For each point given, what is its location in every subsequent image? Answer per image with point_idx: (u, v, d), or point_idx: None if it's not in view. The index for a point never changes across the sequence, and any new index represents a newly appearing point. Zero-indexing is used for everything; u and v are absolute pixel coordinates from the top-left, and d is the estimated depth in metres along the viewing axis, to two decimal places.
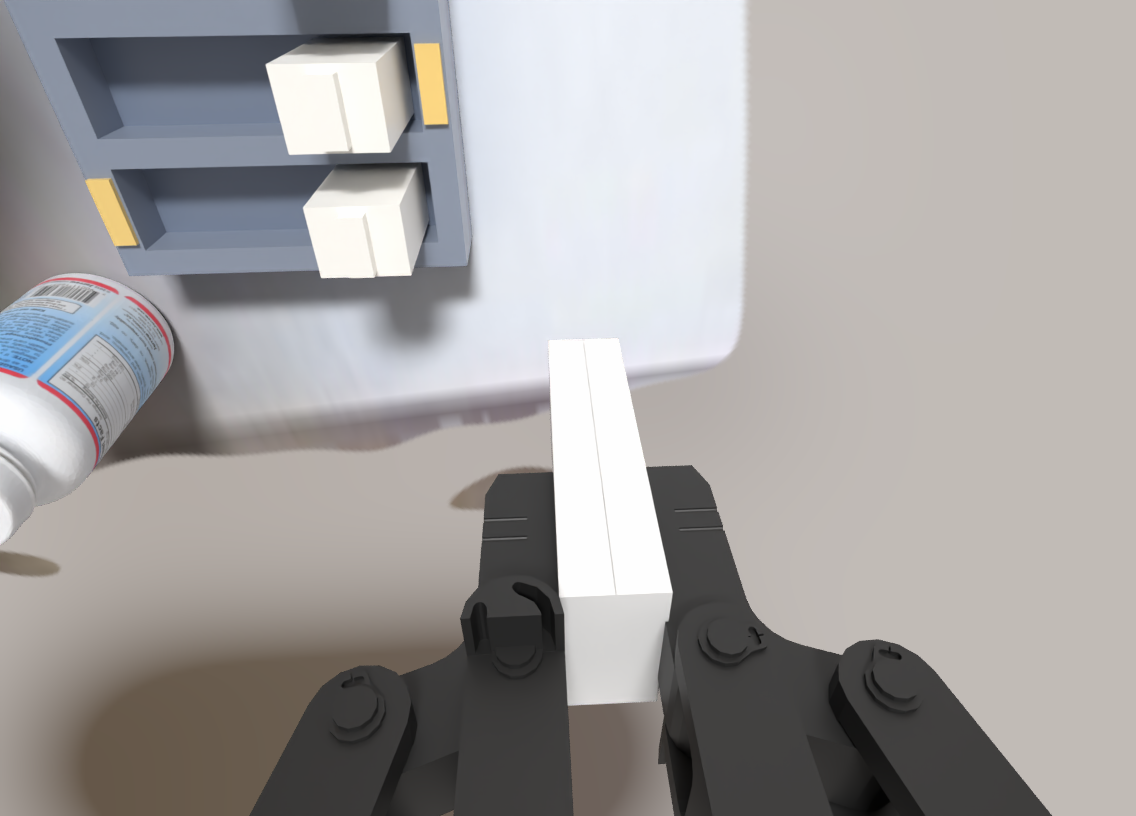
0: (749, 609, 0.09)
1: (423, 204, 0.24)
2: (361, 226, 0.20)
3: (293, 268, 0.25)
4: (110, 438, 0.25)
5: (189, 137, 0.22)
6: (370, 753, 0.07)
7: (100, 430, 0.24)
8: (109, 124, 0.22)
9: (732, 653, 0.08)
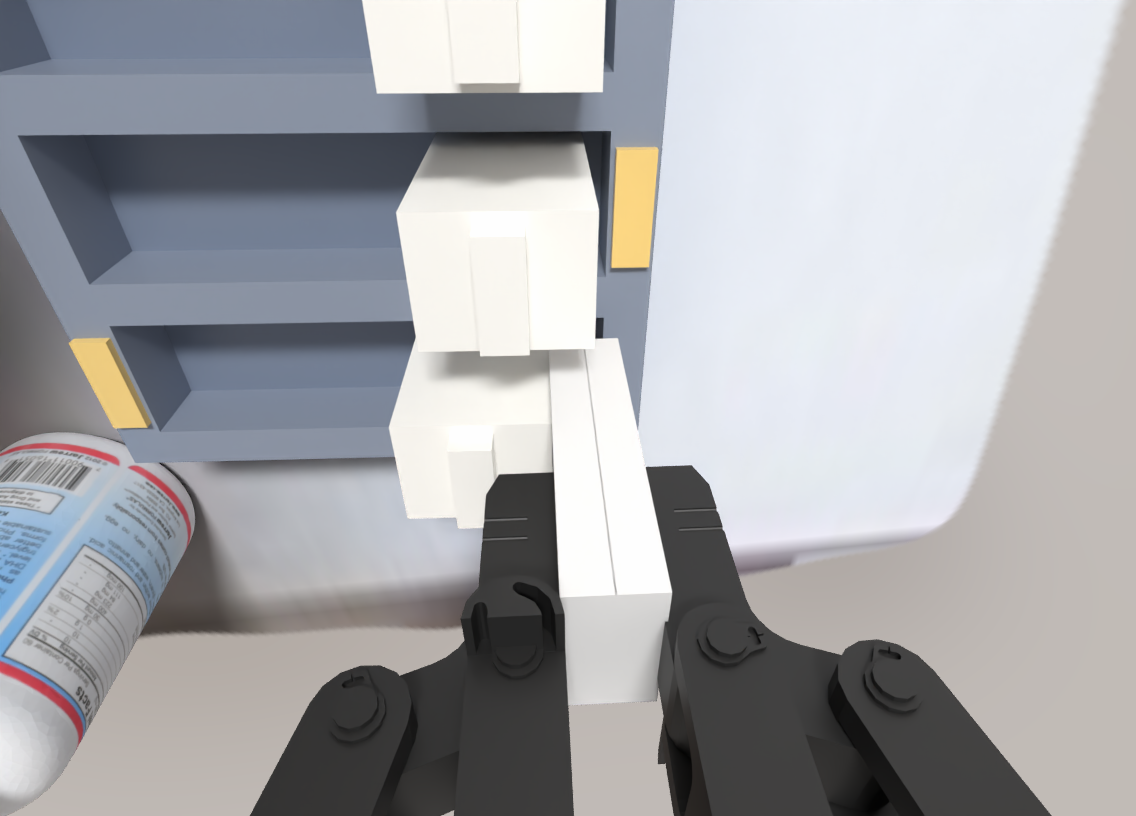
0: (749, 609, 0.09)
1: None
2: (488, 461, 0.12)
3: (379, 454, 0.17)
4: (101, 700, 0.17)
5: (235, 281, 0.14)
6: (371, 753, 0.07)
7: (85, 702, 0.16)
8: (108, 255, 0.14)
9: (731, 653, 0.08)
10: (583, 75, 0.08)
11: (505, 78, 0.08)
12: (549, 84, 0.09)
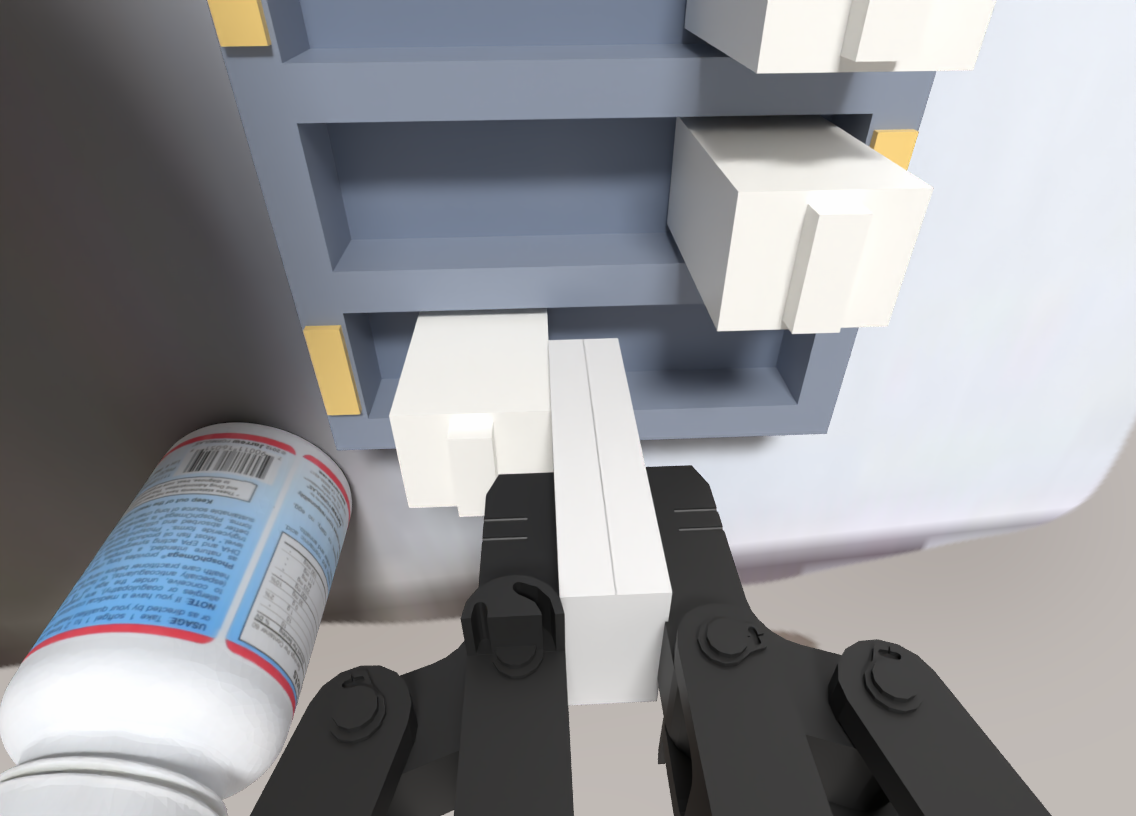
0: (749, 609, 0.09)
1: None
2: (488, 448, 0.12)
3: None
4: None
5: (473, 267, 0.14)
6: (370, 753, 0.07)
7: (298, 685, 0.16)
8: (341, 244, 0.14)
9: (731, 653, 0.08)
10: (959, 53, 0.09)
11: (904, 56, 0.08)
12: (924, 63, 0.09)
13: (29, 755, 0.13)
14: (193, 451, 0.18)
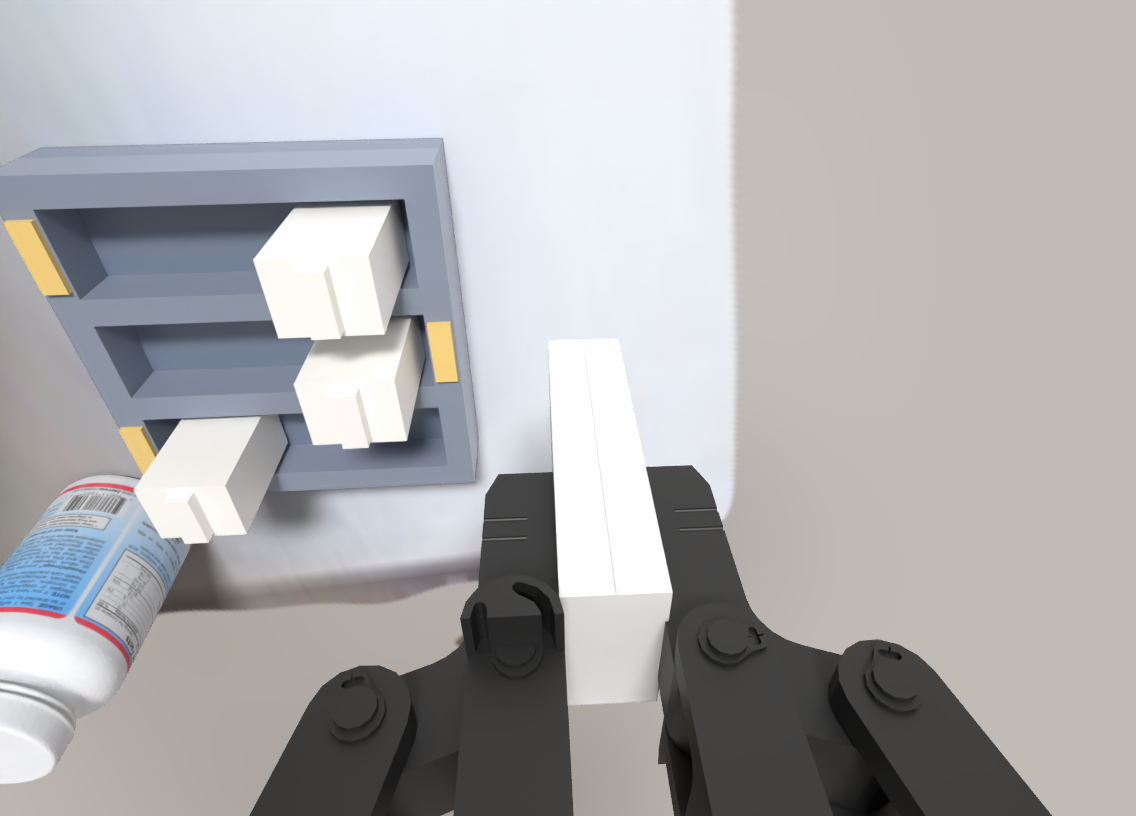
0: (749, 609, 0.09)
1: (276, 437, 0.26)
2: (187, 507, 0.21)
3: (311, 488, 0.27)
4: (139, 646, 0.27)
5: (216, 394, 0.24)
6: (370, 753, 0.07)
7: (131, 646, 0.26)
8: (140, 378, 0.24)
9: (732, 653, 0.08)
10: (374, 328, 0.18)
11: (334, 337, 0.18)
12: (358, 332, 0.18)
13: None
14: (72, 496, 0.28)
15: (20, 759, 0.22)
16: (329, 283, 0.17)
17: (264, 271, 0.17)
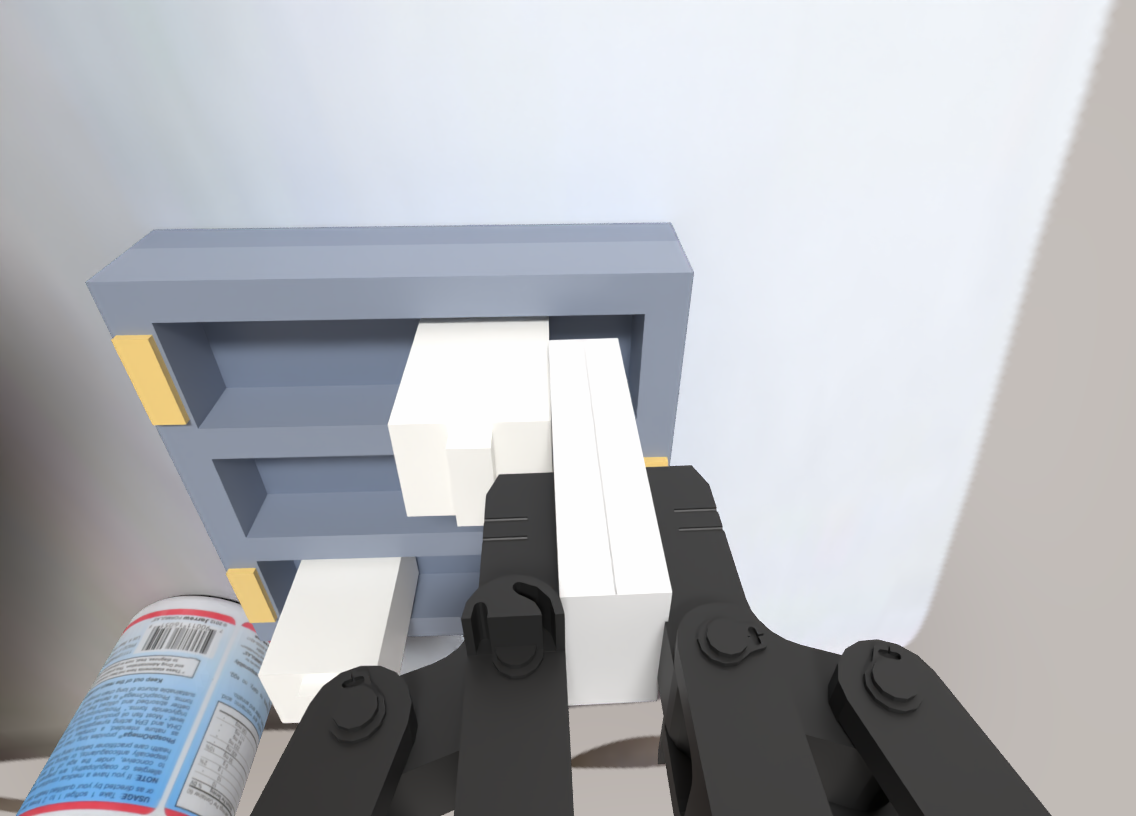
0: (749, 609, 0.09)
1: (411, 574, 0.21)
2: None
3: (449, 633, 0.21)
4: None
5: (353, 533, 0.19)
6: (370, 753, 0.07)
7: None
8: (255, 508, 0.19)
9: (732, 653, 0.08)
10: None
11: None
12: None
13: None
14: (151, 627, 0.23)
15: None
16: (493, 457, 0.12)
17: (401, 438, 0.12)
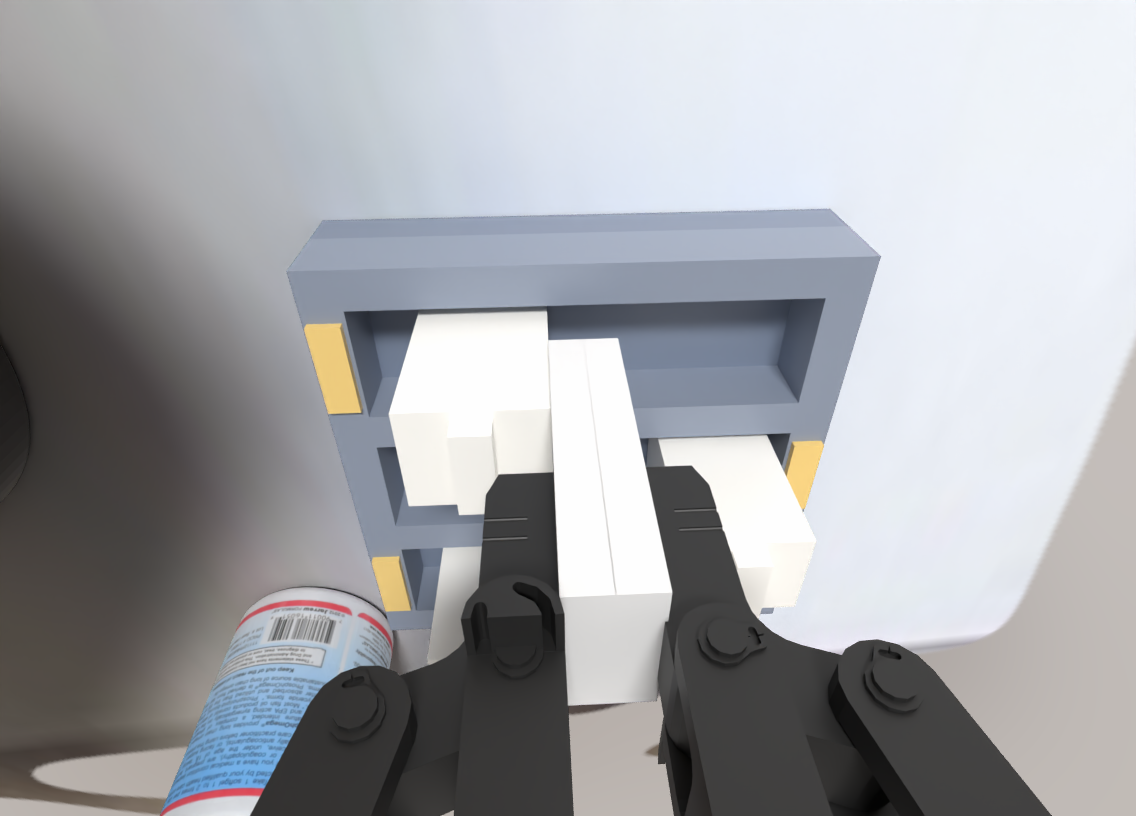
0: (749, 609, 0.09)
1: None
2: None
3: None
4: None
5: None
6: (370, 753, 0.07)
7: None
8: (399, 497, 0.19)
9: (731, 653, 0.08)
10: None
11: None
12: None
13: None
14: (273, 618, 0.23)
15: None
16: (493, 445, 0.12)
17: (402, 427, 0.12)
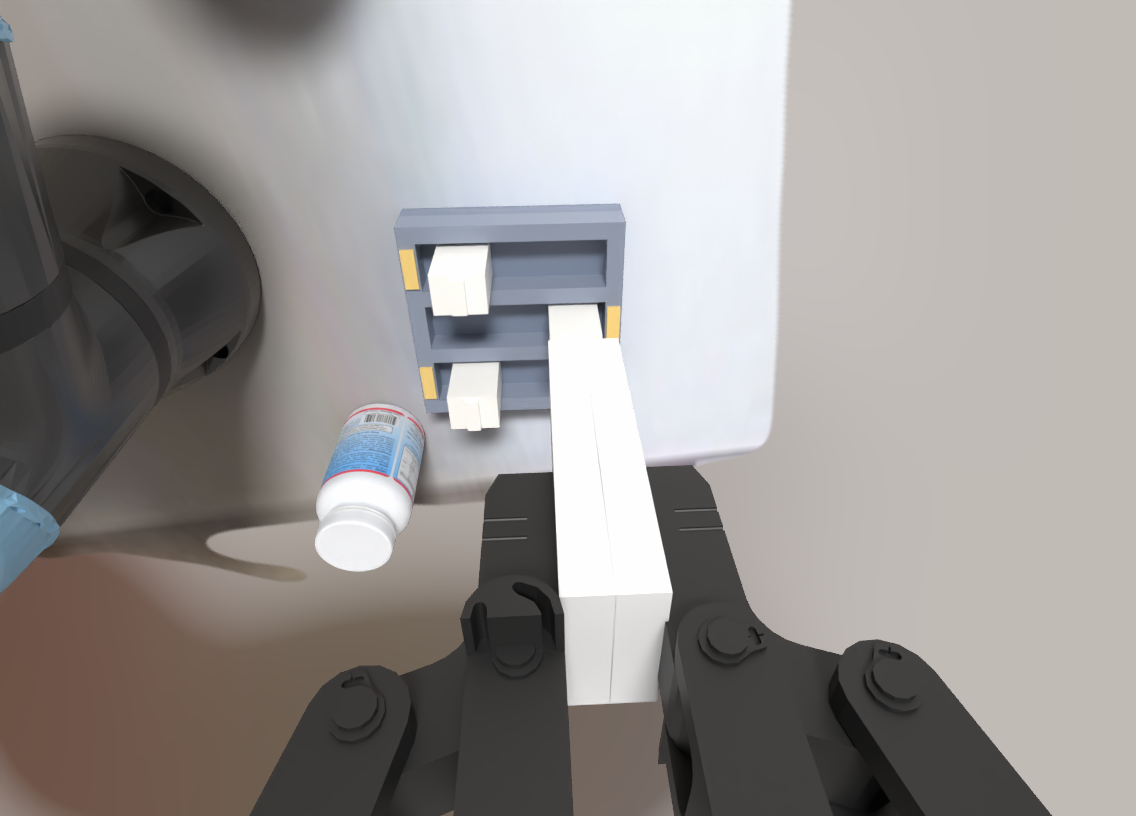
0: (749, 609, 0.09)
1: None
2: (477, 408, 0.39)
3: (518, 408, 0.44)
4: None
5: (479, 347, 0.41)
6: (370, 753, 0.07)
7: (413, 501, 0.43)
8: (432, 338, 0.41)
9: (732, 653, 0.08)
10: (483, 310, 0.35)
11: (464, 314, 0.35)
12: (475, 312, 0.35)
13: (336, 508, 0.40)
14: (365, 414, 0.45)
15: (373, 552, 0.40)
16: (464, 287, 0.34)
17: (432, 281, 0.34)
